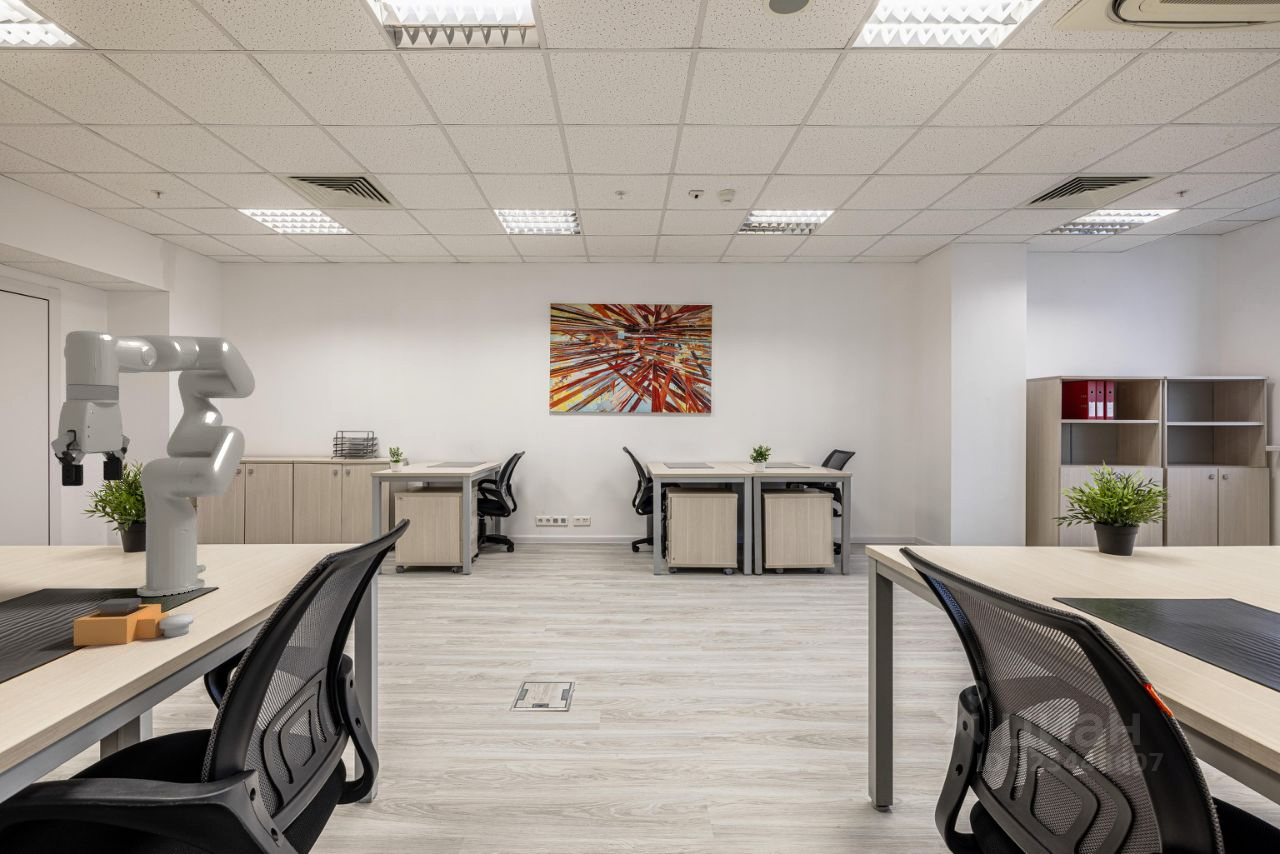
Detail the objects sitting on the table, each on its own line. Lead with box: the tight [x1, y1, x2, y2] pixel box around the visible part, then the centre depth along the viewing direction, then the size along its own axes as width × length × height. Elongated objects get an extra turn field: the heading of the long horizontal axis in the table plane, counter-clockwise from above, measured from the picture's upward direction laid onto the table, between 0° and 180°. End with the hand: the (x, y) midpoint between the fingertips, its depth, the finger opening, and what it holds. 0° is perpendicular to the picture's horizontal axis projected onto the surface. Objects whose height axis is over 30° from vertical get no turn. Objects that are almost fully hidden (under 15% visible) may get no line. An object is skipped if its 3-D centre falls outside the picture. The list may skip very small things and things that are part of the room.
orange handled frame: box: [73, 603, 195, 647], centre depth 108 cm, size 17×9×4 cm, turn 97°
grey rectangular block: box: [96, 597, 142, 617], centre depth 107 cm, size 3×5×6 cm, turn 98°
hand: (93, 482), depth 113 cm, fingers open, 9 cm apart
